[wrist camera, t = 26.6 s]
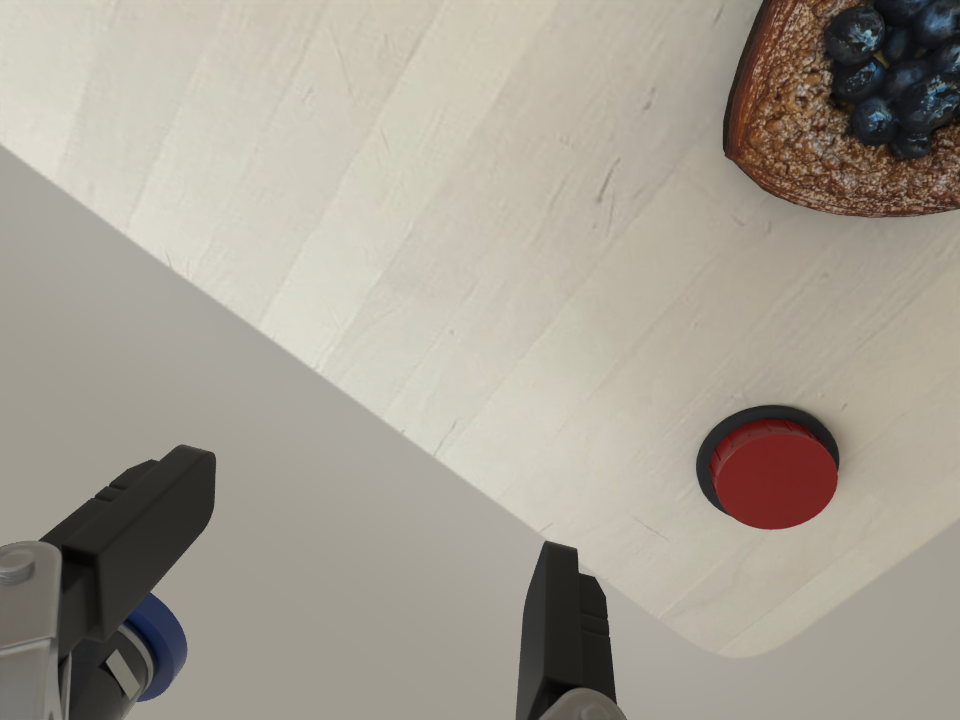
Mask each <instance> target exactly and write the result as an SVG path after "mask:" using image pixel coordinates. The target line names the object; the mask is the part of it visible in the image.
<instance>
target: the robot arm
mask: <svg viewBox="0 0 960 720" xmlns="http://www.w3.org/2000/svg"><path fill="white" fill-rule="evenodd" d="M215 472H216V457H215V454H214V453H213V452H210V451H206V450H202V449H198V448H194V447H191V446H187V445H179V446H177V447H176V448H174V449H173V450H172V451H171V452H170V453H168V454H167V455H166V456H165V457H164V458H162V459H161V460H160V461H156V460H152V459H151V460H148V461H146V462H144V463H141V464H139V465H137V466H134V467H132V468H129V469H127V470H126V471H125V472H123V473H122V474H121V475H120V476H118V477H117V478H116V479H115V480H113V481H112V482H111V483H110V485H109V487H107V486H106V487H105V488H104V489H102V490H101V491H100V492H99V493H97V494H96V495H95V498H91V499H90V500H88V501H87V502H86V503H85V504H83V505H82V506H81V507H80V508H79V509H77V510H76V511H75V512H74V513H72V514H71V515H70V516H68V517H67V518H66V519H65V520H63V521H62V522H61V523H60V524H58V525H57V526H56V527H55V528H53V529H52V530H51V531H50V532H48V533H47V534H46V535H45V536H43V538H41V539H40V540H38V541H22V542H16V543H11V544H8V545H4V546H2V547H0V720H123V719H124V718H125V716H126V715H127V714H128V712H129V711H130V709H131V708H132V707H133V705H134V704H135V703H136V702H137V700H138V699H139V697H140V696H141V695H142V694H143V693H144V692H145V691H146V689H147V688H148V687H149V685H150V684H151V683H152V681H153V680H154V678H155V677H156V674H157V670H158V660H157V656H156V653H155V650H154V648H153V646H152V645H151V643H150V641H149V640H148V638H147V637H146V636H145V635H144V634H143V632H142V631H141V630H140V629H139V628H138V627H136V626H135V625H134V624H133V623H132V622H130V621H129V620H128V619H126V618H127V617H128V616H129V615H130V614H131V613H132V612H133V610H134V609H135V608H136V607H137V606H138V605H139V604H140V602H141V601H142V600H143V599H144V598H145V597H146V596H147V594H148V593H149V592H150V591H151V590H152V589H153V588H154V586H155V585H156V584H157V583H158V582H159V581H160V580H161V578H162V577H163V576H164V575H165V574H166V573H167V571H168V570H169V569H170V568H171V567H172V566H173V565H174V564H175V562H176V561H177V560H178V559H179V558H180V557H181V556H182V554H183V553H184V552H185V551H186V550H187V549H188V548H189V546H190V545H191V544H192V543H193V542H194V541H195V540H196V538H197V537H198V536H199V535H200V534H201V533H202V532H203V530H204V529H205V527H206V526H207V524H208V522H209V520H210V518H211V515H212V512H213V509H214V498H215ZM607 617H608V614H607V605H606V596H605V595H604V593H603V591H602V589H601V587H600V585H599V583H598V582H597V580H596V578H595V577H593V576H589V575H585V574H581V573H579V571H578V552H577V549H576V548H573V547H569V546H565V545H561V544H557V543H554V542H550V541H545V542H544V545H543V547H542V550H541V553H540V556H539V559H538V562H537V565H536V568H535V571H534V574H533V577H532V580H531V583H530V586H529V589H528V593H527V596H526V601H525V606H524V613H523V624H522V638H521V652H520V665H519V679H518V694H517V708H516V720H627V719H626V717H625V715H624V713H623V712H622V711H621V709H620V708H619V707H618V706H617V702H616V693H615V684H614V674H613V664H612V654H611V644H610V637H609V625H608V620H607Z"/></svg>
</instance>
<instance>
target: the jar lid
mask: <svg viewBox="0 0 960 720" xmlns="http://www.w3.org/2000/svg"><path fill="white" fill-rule="evenodd" d="M826 449H828V448H827V447H826V446H825V445H824V444H823V442H822V441H821V440H820V439H819V437H818V436H817V437H815V435H814V434H813V433H812V432H810V431H809V430H808V429H807V428H806V427H805V426H804V425H802V426H801V425H799V424H796V423H794V422H790V421H787V420H786V419H783V420H780V419H762V420H758V421H754V422H750V423H747V424H745V425H744V424H743V425H742V426H740V427H738V428H737V429H735V430H733V431H732V432H731V433H729V434H728V435H725V438H724V439H723V440H722V441H721V442H720V443H719V444H718V446H717V447H716V449H714V450H713V451H714V453H713V455H712V459H711V462H710V465H709V466H708V467H709V469H710V476H711V480H712V481H710V483H711V485H712V487H713V490H714V492H715V494H717V496H718V498H719V500H720V502H721V504H722V506H723V508H724V509H725V510H726V511H727V512H728V513H729V514H730V515H731V516H732V517H733V518H735V519H736V520H738V521H739V522H741V523H743V524H746V525H748V526H751V527H755V528H760V529H770V530H773V529H784V528H789V527H793V526H796V525H799V524H802V523H804V522H806V521H808V520H810V519H811V518H813V517H815V516H816V515H817V514H819V513H820V512H821V511H822V510H823V509H824V508H825V507H826V506H827V505H828V503H829V502H830V500H831V499H832V497H833V495H834V493H835V490H836V487H837V480H838V474H837V468H836V465H835V462H834V460H833V458H832V457H831V455H830V454H829V453H828V451H827V450H826Z"/></svg>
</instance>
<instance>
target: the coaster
mask: <svg viewBox="0 0 960 720" xmlns="http://www.w3.org/2000/svg"><path fill="white" fill-rule="evenodd" d="M762 419H780V420H783V419H786V420H787V421H790V422H794V423H796V424H799V425H801V426H802V425H804V426H805V427H806V428H807V429H808V430H809V431H810V432H812V433H813V434H814V435H815V437H817V436H818V437H819V439H820V440H821V441H822V442H823V444H824V445H825V446H826V447H827V448H828V449H826V450H827V451H828V453H829V454H830V455H831V457H832V458H833V460H834V462H835V465H836V468H837V473H838V468H839V452H838V448H837V445H836V443H835V440H834V438H833V437H832V435H831V433H830V432H829V431H828V430H827V429H826V428H825V426H824V425H823V424H822V423H821V422H819V421H818V420H817V419H816V418H814V417H813V416H811V415H809V414H807V413H805V412H803V411H800V410H797V409H794V408H790V407H784V406H761V407H754V408H751V409H747V410H744V411H741V412H738V413H736V414H734V415H732V416H730V417H728V418H727V419H725V420H724V421H722V422H721V423H720V424H718V425H717V426H716V427H715V428H714V429H713V430H712V431H711V432H710V433H709V434H708V436H707V437H706V439H705V440H704V442H703V444H702V446H701V448H700V450H699V453H698V456H697V462H696V472H697V478H698V481H699V484H700V487H701V489H702V491H703V493H704V495H705V496H706V497H707V499H708V500H709V501H710V502H711V503H712V504H713V505H714V506H715V507H716V508H718V509H719V510H720V511H722V512H724V513H725V514H727V515H730V514H729V513H728V512H727V511H726V510H725V509H724V508H723V506H722V504H721V502H720V500H719V498H718V496H717V494H715V492H714V490H713V487H712V485H711V483H710V481H712V480H711V476H710V469H709V467H708V466H709V465H710V462H711V459H712V455H713V453H714V451H713V450H714V449H716V447H717V446H718V444H719V443H720V442H721V441H722V440H723V439H724V438H725V435H728V434H729V433H731V432H732V431H733V430H735V429H737V428H738V427H740V426H742V425H743V424H744V425H745V424H747V423H750V422H754V421H758V420H762ZM730 516H731V515H730Z"/></svg>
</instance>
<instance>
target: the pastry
mask: <svg viewBox="0 0 960 720" xmlns="http://www.w3.org/2000/svg"><path fill="white" fill-rule="evenodd" d="M723 150H724V152H725V156H726V157H727V158H728V159H730V160H732V161H733V162H734V163H735V164H736V165H737V166H738V167H739V168H740V169H741V170H742V171H743V172H744V173H745V174H746V175H747V176H749V177H750V178H751V179H752V180H753V181H754V182H756V183H757V184H758V185H759V186H760V188H762V189H763V190H765V191H767V192H769V193H770V194H772V195H774V196H776V197H778V198H782V199H784V200H787V201H788V202H791V203H793V204H798V205H800V206H804V207H808V208H810V209H814V210H818V211H823V212H829V213H834V214H837V215H847V216H862V217H910V216H920V215H926V214H934V213H940V212H945V211H950V210H956V209H960V0H763V3H762V5H761V7H760V9H759V11H758V13H757V16H756V18H755V21H754V23H753V26H752V29H751V31H750V34H749V36H748V39H747V42H746V44H745V47H744V49H743V52H742V55H741V58H740V60H739V64H738V67H737V71H736V74H735V77H734V81H733V84H732V87H731V90H730V93H729V97H728V102H727V107H726V111H725V116H724V121H723Z"/></svg>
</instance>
